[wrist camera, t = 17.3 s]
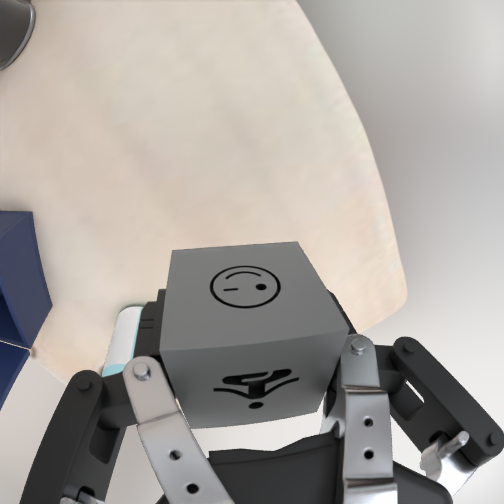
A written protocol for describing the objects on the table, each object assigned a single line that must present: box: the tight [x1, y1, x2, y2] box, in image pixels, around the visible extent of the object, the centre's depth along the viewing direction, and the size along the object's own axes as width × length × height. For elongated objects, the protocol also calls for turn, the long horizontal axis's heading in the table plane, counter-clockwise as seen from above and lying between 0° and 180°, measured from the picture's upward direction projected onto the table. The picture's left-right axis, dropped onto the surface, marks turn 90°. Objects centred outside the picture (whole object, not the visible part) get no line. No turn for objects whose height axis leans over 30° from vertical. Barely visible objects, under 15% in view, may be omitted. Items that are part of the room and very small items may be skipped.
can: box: [102, 307, 144, 377], centre depth 30 cm, size 7×7×12 cm
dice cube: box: [159, 242, 350, 429], centre depth 10 cm, size 5×5×5 cm
